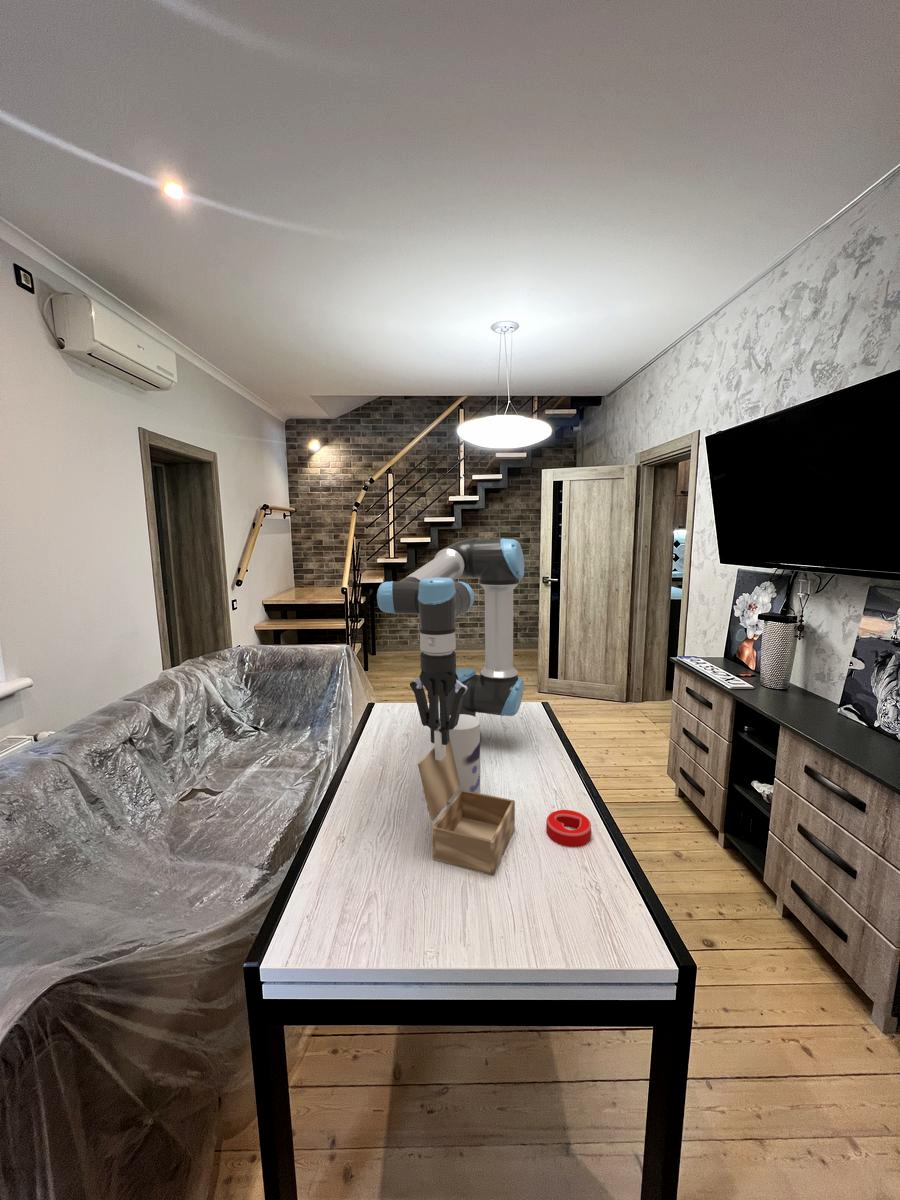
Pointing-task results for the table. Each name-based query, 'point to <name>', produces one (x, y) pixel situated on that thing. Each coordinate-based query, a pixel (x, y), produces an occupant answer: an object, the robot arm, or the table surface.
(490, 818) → the wooden box
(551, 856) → the table surface
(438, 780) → the lid
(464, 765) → the container
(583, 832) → the decorative ornament
